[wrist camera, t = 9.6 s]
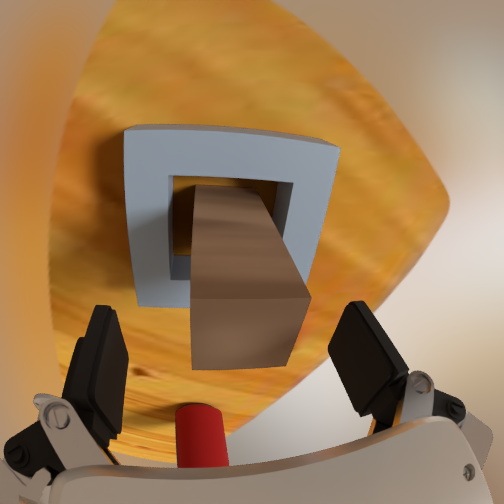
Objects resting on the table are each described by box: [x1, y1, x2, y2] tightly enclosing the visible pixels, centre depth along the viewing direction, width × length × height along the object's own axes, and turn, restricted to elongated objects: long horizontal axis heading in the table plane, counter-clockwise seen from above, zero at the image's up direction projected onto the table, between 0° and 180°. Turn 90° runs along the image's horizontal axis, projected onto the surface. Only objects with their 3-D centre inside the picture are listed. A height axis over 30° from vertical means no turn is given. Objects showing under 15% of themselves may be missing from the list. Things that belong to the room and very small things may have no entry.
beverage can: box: [175, 404, 229, 468], centre depth 29 cm, size 7×7×12 cm
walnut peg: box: [190, 185, 311, 370], centre depth 14 cm, size 4×4×11 cm
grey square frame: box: [124, 124, 341, 308], centre depth 18 cm, size 12×12×3 cm
